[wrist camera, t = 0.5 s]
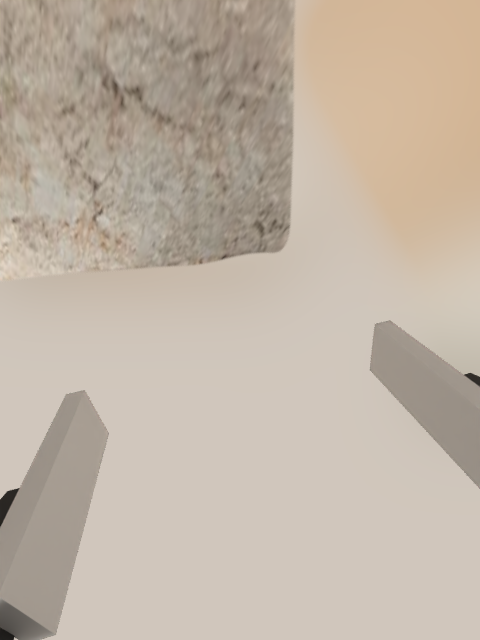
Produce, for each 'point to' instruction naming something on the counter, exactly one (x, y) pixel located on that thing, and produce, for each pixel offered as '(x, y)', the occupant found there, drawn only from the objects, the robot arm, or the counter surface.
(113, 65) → the counter surface
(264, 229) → the counter surface
